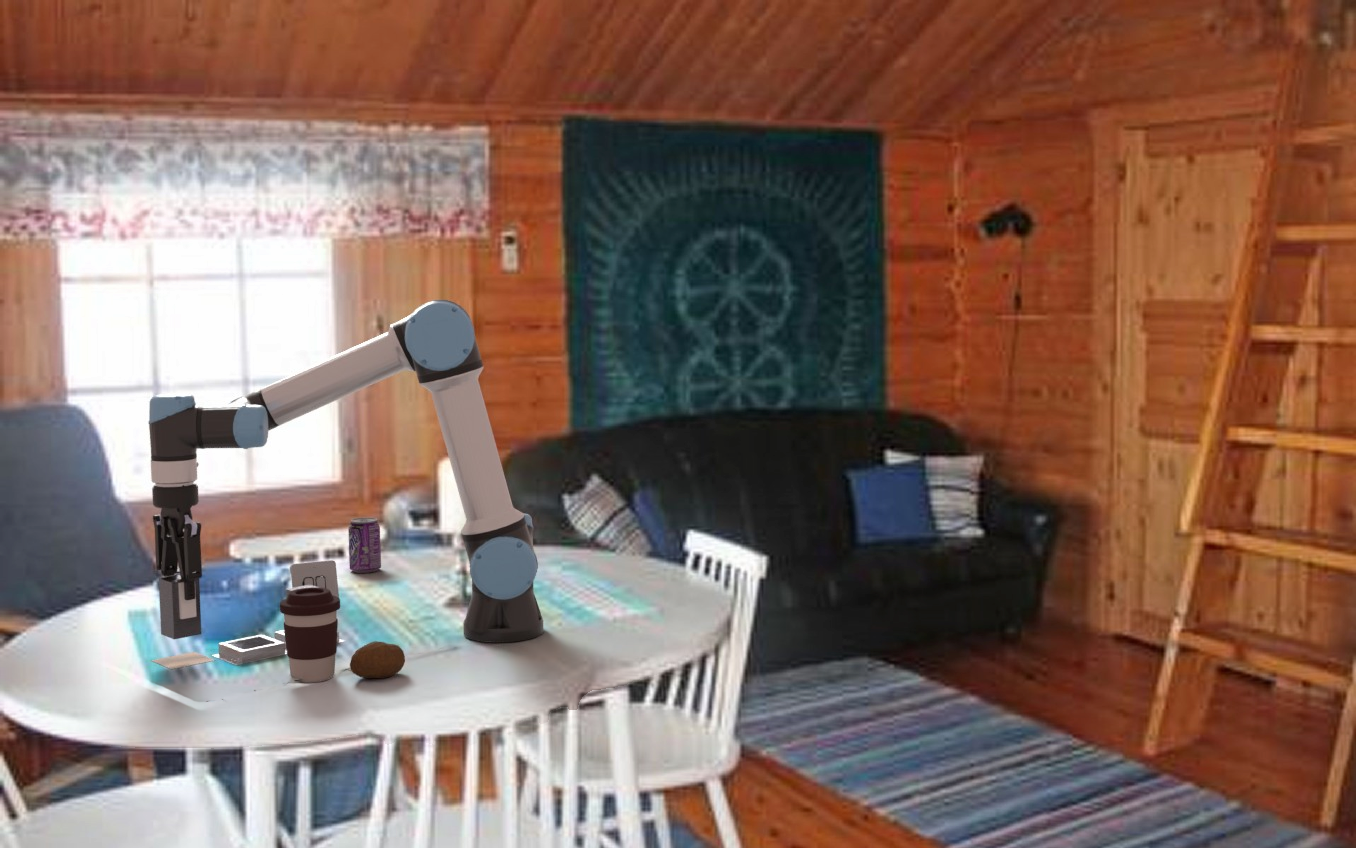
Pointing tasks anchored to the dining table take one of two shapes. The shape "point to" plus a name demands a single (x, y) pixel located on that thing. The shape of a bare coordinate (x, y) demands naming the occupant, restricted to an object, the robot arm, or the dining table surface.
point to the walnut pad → (183, 660)
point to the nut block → (177, 610)
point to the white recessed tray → (254, 648)
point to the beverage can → (364, 545)
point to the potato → (377, 660)
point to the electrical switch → (315, 575)
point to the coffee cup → (311, 633)
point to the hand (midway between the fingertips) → (180, 614)
